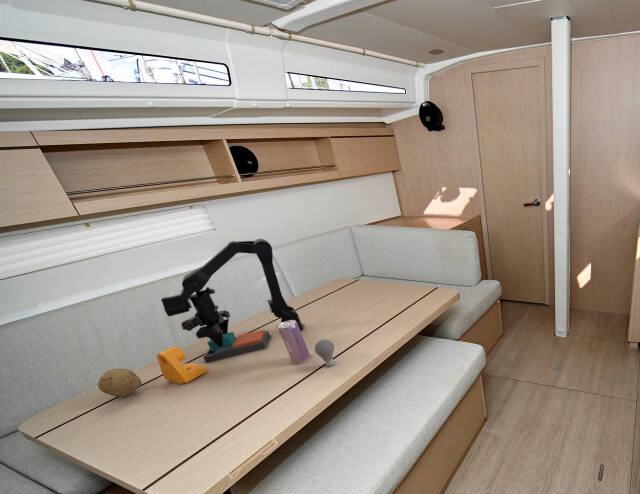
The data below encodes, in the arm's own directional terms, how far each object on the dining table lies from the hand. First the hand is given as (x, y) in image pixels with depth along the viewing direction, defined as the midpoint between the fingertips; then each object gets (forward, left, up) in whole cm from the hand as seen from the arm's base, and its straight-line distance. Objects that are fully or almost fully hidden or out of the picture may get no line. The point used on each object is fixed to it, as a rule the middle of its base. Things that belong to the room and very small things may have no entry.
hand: (223, 342), depth 138 cm
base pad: (-8, 0, -3) cm, 9 cm away
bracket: (+9, +14, -4) cm, 17 cm away
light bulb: (-38, +34, -4) cm, 51 cm away
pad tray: (-4, 0, -4) cm, 6 cm away
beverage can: (-28, +24, -4) cm, 37 cm away
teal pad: (0, 0, -1) cm, 1 cm away
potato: (+25, +16, -4) cm, 30 cm away
